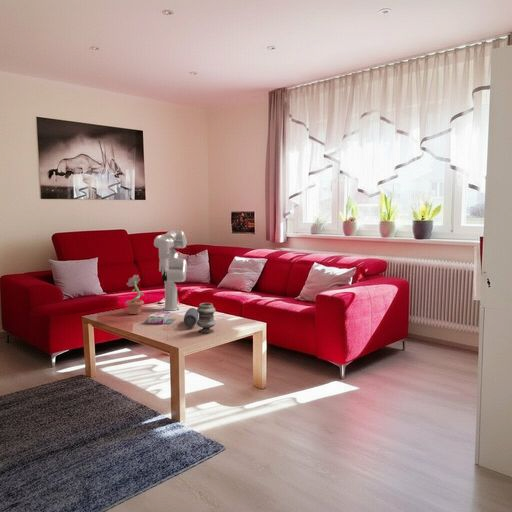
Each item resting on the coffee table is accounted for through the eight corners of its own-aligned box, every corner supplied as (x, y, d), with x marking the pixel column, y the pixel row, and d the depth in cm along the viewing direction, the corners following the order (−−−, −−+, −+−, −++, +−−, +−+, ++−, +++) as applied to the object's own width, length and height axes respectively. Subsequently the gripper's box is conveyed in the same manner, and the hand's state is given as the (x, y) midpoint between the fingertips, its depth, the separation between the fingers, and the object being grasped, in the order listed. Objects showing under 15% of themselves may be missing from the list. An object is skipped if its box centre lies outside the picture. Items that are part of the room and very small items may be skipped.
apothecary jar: (195, 333, 286) (195, 305, 285) (198, 328, 298) (198, 302, 297) (214, 334, 286) (214, 305, 284) (216, 329, 298) (216, 302, 296)
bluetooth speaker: (197, 328, 299) (197, 314, 298) (183, 329, 298) (182, 314, 297) (199, 320, 321) (199, 307, 320) (185, 321, 320) (185, 307, 320)
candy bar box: (154, 318, 327) (147, 323, 311) (154, 311, 327) (147, 316, 310) (170, 318, 326) (163, 323, 310) (170, 311, 325) (163, 316, 309)
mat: (148, 318, 326) (148, 318, 326) (176, 319, 325) (176, 318, 325) (142, 323, 312) (142, 322, 312) (171, 324, 311) (171, 323, 311)
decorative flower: (137, 311, 353) (136, 272, 350) (148, 313, 345) (148, 274, 342) (121, 314, 341) (120, 274, 338) (133, 316, 333) (132, 276, 330)
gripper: (161, 254, 336) (162, 278, 339) (156, 257, 322) (156, 282, 324) (171, 254, 336) (172, 279, 338) (166, 257, 321) (167, 282, 324)
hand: (164, 280), depth 331 cm, fingers closed
